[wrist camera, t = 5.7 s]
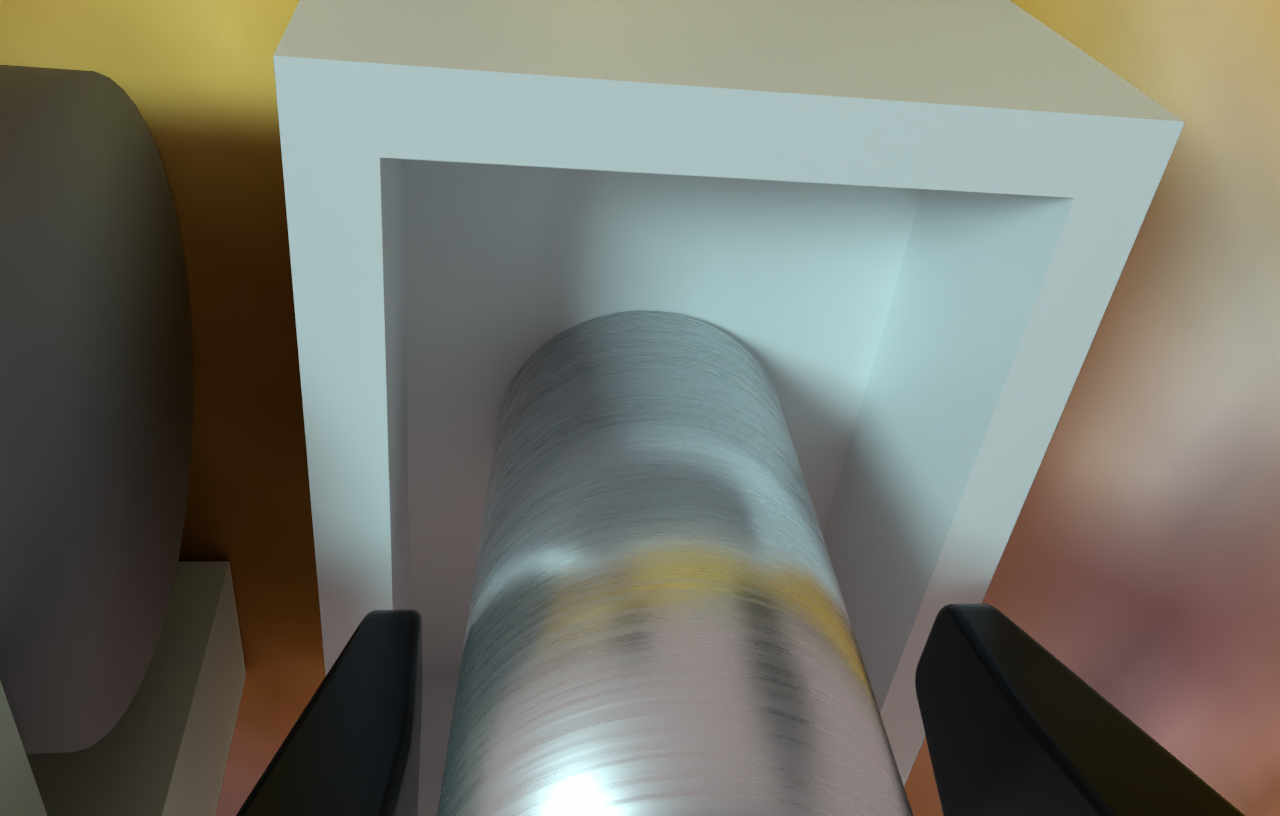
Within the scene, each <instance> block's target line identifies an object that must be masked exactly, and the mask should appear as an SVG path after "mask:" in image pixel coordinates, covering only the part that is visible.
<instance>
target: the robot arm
mask: <svg viewBox="0 0 1280 816" xmlns="http://www.w3.org/2000/svg"><path fill="white" fill-rule="evenodd" d="M915 688H916V695H917V700H918V704H919V709H920V713H921V718H922V722H923V726H924V731H925V735H926V740H927V744H928V749H929V753H930V757H931V762H932V766H933V771H934V775H935V780H936V784H937V788H938V793H939V797H940V802H941V806H942V810H943V815H944V816H1245V815H1244V814H1242V813H1241V812H1240V811H1239V810H1238V809H1237V808H1235V807H1234V806H1233V805H1232V804H1231V803H1229V802H1228V801H1227V800H1226V799H1225V798H1223V797H1222V796H1221V795H1220V794H1219V793H1217V792H1216V791H1215V790H1214V789H1213V788H1211V787H1210V786H1209V785H1208V784H1207V783H1205V782H1204V781H1203V780H1202V779H1201V778H1199V777H1198V776H1197V775H1196V774H1195V773H1193V772H1192V771H1191V770H1190V769H1189V768H1187V767H1186V766H1185V765H1184V764H1183V763H1181V762H1180V761H1179V760H1178V759H1177V758H1175V757H1174V756H1173V755H1172V754H1171V753H1169V752H1168V751H1167V750H1166V749H1165V748H1163V747H1162V746H1161V745H1160V744H1159V743H1157V742H1156V741H1155V740H1154V739H1153V738H1151V737H1150V736H1149V735H1148V734H1147V733H1145V732H1144V731H1143V730H1142V729H1141V728H1139V727H1138V726H1137V725H1136V724H1135V723H1133V722H1132V721H1131V720H1130V719H1129V718H1127V717H1126V716H1125V715H1124V714H1123V713H1121V712H1120V711H1119V710H1118V709H1117V708H1115V707H1114V706H1113V705H1112V704H1111V703H1110V702H1108V701H1107V700H1106V699H1105V698H1104V697H1102V696H1101V695H1100V694H1099V693H1098V692H1096V691H1095V690H1094V689H1093V688H1092V687H1090V686H1089V685H1088V684H1087V683H1086V682H1084V681H1083V680H1082V679H1081V678H1080V677H1078V676H1077V675H1076V674H1075V673H1074V672H1072V671H1071V670H1070V669H1069V668H1068V667H1066V666H1065V665H1064V664H1063V663H1062V662H1060V661H1059V660H1058V659H1057V658H1056V657H1054V656H1053V655H1052V654H1051V653H1050V652H1048V651H1047V650H1046V649H1045V648H1044V647H1042V646H1041V645H1040V644H1039V643H1038V642H1036V641H1035V640H1034V639H1033V638H1032V637H1030V636H1029V635H1028V634H1027V633H1026V632H1024V631H1023V630H1022V629H1021V628H1020V627H1018V626H1017V625H1016V624H1015V623H1014V622H1012V621H1011V620H1010V619H1009V618H1008V617H1006V616H1005V615H1004V614H1003V613H1002V612H1000V611H999V610H998V609H996V608H995V607H993V606H991V605H988V604H982V603H975V604H948V605H945V606H944V607H943V608H942V609H941V610H940V611H939V612H938V614H937V616H936V618H935V621H934V623H933V626H932V629H931V631H930V634H929V636H928V639H927V641H926V644H925V646H924V649H923V652H922V654H921V657H920V659H919V662H918V665H917V668H916V674H915ZM421 714H422V618H421V615H420V614H419V612H417V611H416V610H373V611H371V612H369V613H368V614H367V615H366V616H365V617H364V618H363V619H362V621H361V622H360V624H359V625H358V627H357V628H356V630H355V632H354V633H353V635H352V636H351V638H350V639H349V641H348V642H347V644H346V646H345V647H344V649H343V650H342V652H341V653H340V655H339V656H338V658H337V660H336V661H335V663H334V664H333V666H332V667H331V669H330V670H329V672H328V674H327V675H326V677H325V678H324V680H323V681H322V683H321V684H320V686H319V688H318V689H317V691H316V692H315V694H314V695H313V697H312V698H311V700H310V702H309V703H308V705H307V706H306V708H305V709H304V711H303V712H302V714H301V716H300V717H299V719H298V720H297V722H296V723H295V725H294V726H293V728H292V730H291V731H290V733H289V734H288V736H287V737H286V739H285V740H284V742H283V743H282V745H281V747H280V748H279V750H278V751H277V753H276V754H275V756H274V757H273V759H272V761H271V762H270V764H269V765H268V767H267V768H266V770H265V771H264V773H263V775H262V776H261V778H260V779H259V781H258V782H257V784H256V785H255V787H254V789H253V790H252V792H251V793H250V795H249V796H248V798H247V799H246V801H245V803H244V804H243V806H242V807H241V809H240V810H239V812H238V813H237V815H236V816H418V791H419V765H420V739H421Z"/></svg>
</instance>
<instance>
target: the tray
mask: <svg viewBox="0 0 1280 816" xmlns="http://www.w3.org/2000/svg"><path fill="white" fill-rule="evenodd" d="M273 58H274V70H275V81H276V93H277V105H278V117H279V129H280V141H281V153H282V165H283V177H284V188H285V200H286V212H287V224H288V236H289V248H290V260H291V272H292V283H293V295H294V307H295V319H296V331H297V343H298V355H299V367H300V379H301V390H302V402H303V414H304V426H305V438H306V450H307V462H308V474H309V485H310V497H311V509H312V521H313V533H314V545H315V557H316V569H317V580H318V592H319V604H320V616H321V628H322V640H323V652H324V664H325V676H326V675H327V674H328V672H329V670H330V669H331V667H332V666H333V664H334V663H335V661H336V660H337V658H338V656H339V655H340V653H341V652H342V650H343V649H344V647H345V646H346V644H347V642H348V641H349V639H350V638H351V636H352V635H353V633H354V632H355V630H356V628H357V627H358V625H359V624H360V622H361V621H362V619H363V618H364V617H365V616H366V615H367V614H368V613H369V612H371V611H373V610H416V611H417V612H419V614H420V615H421V618H422V714H421V739H420V765H419V791H418V816H437V814H438V807H439V801H440V794H441V788H442V781H443V775H444V768H445V762H446V755H447V749H448V742H449V736H450V729H451V723H452V716H453V710H454V703H455V697H456V690H457V684H458V677H459V671H460V664H461V658H462V651H463V645H464V638H465V632H466V625H467V619H468V613H469V606H470V600H471V593H472V587H473V580H474V574H475V567H476V561H477V554H478V548H479V541H480V535H481V528H482V522H483V515H484V509H485V502H486V496H487V489H488V483H489V476H490V470H491V463H492V457H493V450H494V444H495V437H496V431H497V424H498V418H499V413H500V410H501V406H502V403H503V399H504V397H505V395H506V393H507V390H508V388H509V386H510V384H511V382H512V381H513V379H514V377H515V376H516V374H517V373H518V371H519V370H520V368H521V367H522V366H523V365H524V364H525V363H526V361H527V360H528V359H529V358H530V357H531V356H532V355H533V354H534V353H535V352H536V351H537V350H538V349H539V348H540V347H542V346H543V345H544V344H545V343H546V342H548V341H549V340H551V339H552V338H554V337H555V336H557V335H558V334H560V333H561V332H563V331H565V330H567V329H569V328H571V327H573V326H575V325H577V324H579V323H582V322H584V321H587V320H590V319H593V318H596V317H599V316H603V315H608V314H612V313H617V312H627V311H637V310H639V311H661V312H668V313H675V314H680V315H683V316H687V317H691V318H694V319H697V320H700V321H702V322H704V323H707V324H709V325H712V326H714V327H716V328H717V329H719V330H721V331H723V332H724V333H726V334H728V335H730V336H731V337H732V338H733V339H735V340H736V341H737V342H739V343H740V344H741V345H743V346H744V347H745V348H746V349H747V350H748V351H749V352H750V353H751V354H752V355H753V356H754V357H755V358H756V359H757V361H758V362H759V363H760V365H761V366H762V367H763V369H764V370H765V372H766V373H767V375H768V377H769V379H770V380H771V382H772V384H773V386H774V388H775V391H776V394H777V397H778V399H779V402H780V405H781V408H782V412H783V415H784V418H785V421H786V424H787V427H788V430H789V433H790V436H791V439H792V442H793V446H794V449H795V452H796V455H797V458H798V461H799V464H800V467H801V470H802V473H803V476H804V480H805V483H806V486H807V489H808V492H809V495H810V498H811V501H812V504H813V507H814V510H815V514H816V517H817V520H818V523H819V526H820V529H821V532H822V535H823V538H824V541H825V544H826V548H827V551H828V554H829V557H830V560H831V563H832V566H833V569H834V572H835V575H836V578H837V582H838V585H839V588H840V591H841V594H842V597H843V600H844V603H845V606H846V609H847V612H848V616H849V619H850V622H851V625H852V628H853V631H854V634H855V637H856V640H857V643H858V647H859V650H860V653H861V656H862V659H863V662H864V665H865V668H866V671H867V674H868V677H869V681H870V684H871V687H872V690H873V693H874V696H875V699H876V702H877V705H878V708H879V711H880V715H881V718H882V721H883V724H884V727H885V730H886V733H887V736H888V739H889V742H890V745H891V749H892V752H893V755H894V758H895V761H896V764H897V767H898V770H899V773H900V776H901V779H902V783H903V786H905V783H906V781H907V779H908V776H909V774H910V771H911V769H912V767H913V764H914V762H915V760H916V757H917V755H918V753H919V750H920V748H921V745H922V743H923V741H924V738H925V736H926V735H925V731H924V726H923V722H922V718H921V713H920V709H919V704H918V700H917V695H916V688H915V674H916V668H917V665H918V662H919V659H920V657H921V654H922V652H923V649H924V646H925V644H926V641H927V639H928V636H929V634H930V631H931V629H932V626H933V623H934V621H935V618H936V616H937V614H938V612H939V611H940V610H941V609H942V608H943V607H944V606H945V605H948V604H975V603H982V601H983V599H984V596H985V594H986V592H987V589H988V587H989V585H990V582H991V580H992V577H993V575H994V573H995V570H996V568H997V566H998V563H999V561H1000V559H1001V556H1002V554H1003V551H1004V549H1005V547H1006V544H1007V542H1008V540H1009V537H1010V535H1011V533H1012V530H1013V528H1014V525H1015V523H1016V521H1017V518H1018V516H1019V514H1020V511H1021V509H1022V507H1023V504H1024V502H1025V499H1026V497H1027V495H1028V492H1029V490H1030V488H1031V485H1032V483H1033V481H1034V478H1035V476H1036V473H1037V471H1038V469H1039V466H1040V464H1041V462H1042V459H1043V457H1044V455H1045V452H1046V450H1047V447H1048V445H1049V443H1050V440H1051V438H1052V436H1053V433H1054V431H1055V428H1056V426H1057V424H1058V421H1059V419H1060V417H1061V414H1062V412H1063V410H1064V407H1065V405H1066V402H1067V400H1068V398H1069V395H1070V393H1071V391H1072V388H1073V386H1074V384H1075V381H1076V379H1077V376H1078V374H1079V372H1080V369H1081V367H1082V365H1083V362H1084V360H1085V358H1086V355H1087V353H1088V350H1089V348H1090V346H1091V343H1092V341H1093V339H1094V336H1095V334H1096V332H1097V329H1098V327H1099V324H1100V322H1101V320H1102V317H1103V315H1104V313H1105V310H1106V308H1107V305H1108V303H1109V301H1110V298H1111V296H1112V294H1113V291H1114V289H1115V287H1116V284H1117V282H1118V279H1119V277H1120V275H1121V272H1122V270H1123V268H1124V265H1125V263H1126V261H1127V258H1128V256H1129V253H1130V251H1131V249H1132V246H1133V244H1134V242H1135V239H1136V237H1137V235H1138V232H1139V230H1140V227H1141V225H1142V223H1143V220H1144V218H1145V216H1146V213H1147V211H1148V209H1149V206H1150V204H1151V201H1152V199H1153V197H1154V194H1155V192H1156V190H1157V187H1158V185H1159V183H1160V180H1161V178H1162V175H1163V173H1164V171H1165V168H1166V166H1167V164H1168V161H1169V159H1170V156H1171V154H1172V152H1173V149H1174V147H1175V145H1176V142H1177V140H1178V138H1179V135H1180V133H1181V130H1182V128H1183V126H1184V123H1185V121H1183V120H1182V119H1180V118H1179V117H1178V116H1176V115H1175V114H1173V113H1172V112H1170V111H1169V110H1167V109H1166V108H1165V107H1163V106H1162V105H1160V104H1159V103H1157V102H1156V101H1154V100H1153V99H1152V98H1150V97H1149V96H1147V95H1146V94H1144V93H1143V92H1141V91H1140V90H1138V89H1137V88H1136V87H1134V86H1133V85H1131V84H1130V83H1128V82H1127V81H1125V80H1124V79H1123V78H1121V77H1120V76H1118V75H1117V74H1115V73H1114V72H1112V71H1111V70H1110V69H1108V68H1107V67H1105V66H1104V65H1102V64H1101V63H1099V62H1098V61H1097V60H1095V59H1094V58H1092V57H1091V56H1089V55H1088V54H1086V53H1085V52H1084V51H1082V50H1081V49H1079V48H1078V47H1076V46H1075V45H1073V44H1072V43H1071V42H1069V41H1068V40H1066V39H1065V38H1063V37H1062V36H1060V35H1059V34H1058V33H1056V32H1055V31H1053V30H1052V29H1050V28H1049V27H1047V26H1046V25H1044V24H1043V23H1042V22H1040V21H1039V20H1037V19H1036V18H1034V17H1033V16H1031V15H1030V14H1029V13H1027V12H1026V11H1024V10H1023V9H1021V8H1020V7H1018V6H1017V5H1016V4H1014V3H1013V2H1011V1H1010V0H300V1H299V3H298V5H297V7H296V10H295V12H294V14H293V16H292V18H291V20H290V22H289V24H288V26H287V28H286V30H285V32H284V35H283V37H282V39H281V41H280V43H279V45H278V47H277V49H276V51H275V53H274V55H273Z"/></svg>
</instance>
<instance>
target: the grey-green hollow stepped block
mask: <svg viewBox="0 0 1280 816" xmlns="http://www.w3.org/2000/svg"><path fill="white" fill-rule="evenodd" d="M192 430H193V346H192V328H191V313H190V302H189V291H188V282H187V275H186V267H185V259H184V253H183V247H182V241H181V235H180V229H179V224H178V220H177V215H176V211H175V206H174V201H173V197H172V194H171V190H170V187H169V183H168V179H167V176H166V172H165V169H164V166H163V163H162V161H161V158H160V155H159V152H158V149H157V146H156V144H155V142H154V140H153V137H152V135H151V133H150V131H149V128H148V126H147V124H146V122H145V121H144V119H143V117H142V115H141V114H140V112H139V110H138V109H137V107H136V105H135V104H134V102H133V101H132V100H131V99H130V97H129V96H128V95H127V94H126V92H125V91H124V90H123V89H122V88H121V87H120V86H119V85H117V84H116V83H115V82H114V81H113V80H111V79H110V78H109V77H106V76H104V75H102V74H99V73H97V72H94V71H81V70H67V69H52V68H38V67H23V66H8V65H0V816H215V815H216V810H217V805H218V801H219V796H220V792H221V787H222V783H223V778H224V774H225V769H226V765H227V760H228V756H229V751H230V747H231V742H232V738H233V733H234V728H235V724H236V719H237V715H238V710H239V706H240V701H241V697H242V692H243V688H244V683H245V679H246V670H245V663H244V656H243V650H242V643H241V636H240V630H239V623H238V616H237V609H236V603H235V596H234V589H233V582H232V576H231V569H230V562H178V558H179V553H180V547H181V541H182V534H183V528H184V521H185V514H186V505H187V496H188V487H189V477H190V464H191V451H192Z"/></svg>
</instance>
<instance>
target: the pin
mask: <svg viewBox="0 0 1280 816" xmlns="http://www.w3.org/2000/svg"><path fill="white" fill-rule="evenodd" d="M437 816H913V813H912V810H911V807H910V804H909V801H908V798H907V795H906V792H905V789H904V786H903V783H902V779H901V776H900V773H899V770H898V767H897V764H896V761H895V758H894V755H893V752H892V749H891V745H890V742H889V739H888V736H887V733H886V730H885V727H884V724H883V721H882V718H881V715H880V711H879V708H878V705H877V702H876V699H875V696H874V693H873V690H872V687H871V684H870V681H869V677H868V674H867V671H866V668H865V665H864V662H863V659H862V656H861V653H860V650H859V647H858V643H857V640H856V637H855V634H854V631H853V628H852V625H851V622H850V619H849V616H848V612H847V609H846V606H845V603H844V600H843V597H842V594H841V591H840V588H839V585H838V582H837V578H836V575H835V572H834V569H833V566H832V563H831V560H830V557H829V554H828V551H827V548H826V544H825V541H824V538H823V535H822V532H821V529H820V526H819V523H818V520H817V517H816V514H815V510H814V507H813V504H812V501H811V498H810V495H809V492H808V489H807V486H806V483H805V480H804V476H803V473H802V470H801V467H800V464H799V461H798V458H797V455H796V452H795V449H794V446H793V442H792V439H791V436H790V433H789V430H788V427H787V424H786V421H785V418H784V415H783V412H782V408H781V405H780V402H779V399H778V397H777V394H776V391H775V388H774V386H773V384H772V382H771V380H770V379H769V377H768V375H767V373H766V372H765V370H764V369H763V367H762V366H761V365H760V363H759V362H758V361H757V359H756V358H755V357H754V356H753V355H752V354H751V353H750V352H749V351H748V350H747V349H746V348H745V347H744V346H743V345H741V344H740V343H739V342H737V341H736V340H735V339H733V338H732V337H731V336H730V335H728V334H726V333H724V332H723V331H721V330H719V329H717V328H716V327H714V326H712V325H709V324H707V323H704V322H702V321H700V320H697V319H694V318H691V317H687V316H683V315H680V314H675V313H668V312H661V311H639V310H637V311H627V312H617V313H612V314H608V315H603V316H599V317H596V318H593V319H590V320H587V321H584V322H582V323H579V324H577V325H575V326H573V327H571V328H569V329H567V330H565V331H563V332H561V333H560V334H558V335H557V336H555V337H554V338H552V339H551V340H549V341H548V342H546V343H545V344H544V345H543V346H542V347H540V348H539V349H538V350H537V351H536V352H535V353H534V354H533V355H532V356H531V357H530V358H529V359H528V360H527V361H526V363H525V364H524V365H523V366H522V367H521V368H520V370H519V371H518V373H517V374H516V376H515V377H514V379H513V381H512V382H511V384H510V386H509V388H508V390H507V393H506V395H505V397H504V399H503V403H502V406H501V410H500V413H499V418H498V424H497V431H496V437H495V444H494V450H493V457H492V463H491V470H490V476H489V483H488V489H487V496H486V502H485V509H484V515H483V522H482V528H481V535H480V541H479V548H478V554H477V561H476V567H475V574H474V580H473V587H472V593H471V600H470V606H469V613H468V619H467V625H466V632H465V638H464V645H463V651H462V658H461V664H460V671H459V677H458V684H457V690H456V697H455V703H454V710H453V716H452V723H451V729H450V736H449V742H448V749H447V755H446V762H445V768H444V775H443V781H442V788H441V794H440V801H439V807H438V814H437Z"/></svg>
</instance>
